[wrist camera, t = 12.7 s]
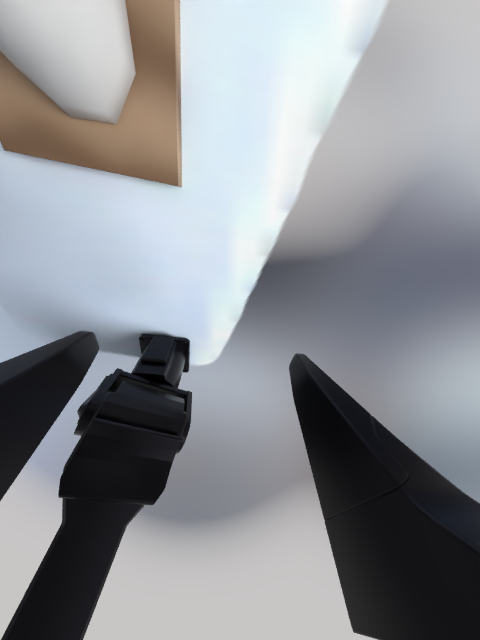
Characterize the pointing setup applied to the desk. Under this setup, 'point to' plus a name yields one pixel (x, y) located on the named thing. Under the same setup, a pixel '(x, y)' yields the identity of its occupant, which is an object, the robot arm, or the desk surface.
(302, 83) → the desk surface
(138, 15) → the flat brown panel
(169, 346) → the robot arm
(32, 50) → the flask
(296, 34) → the desk surface
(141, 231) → the desk surface
